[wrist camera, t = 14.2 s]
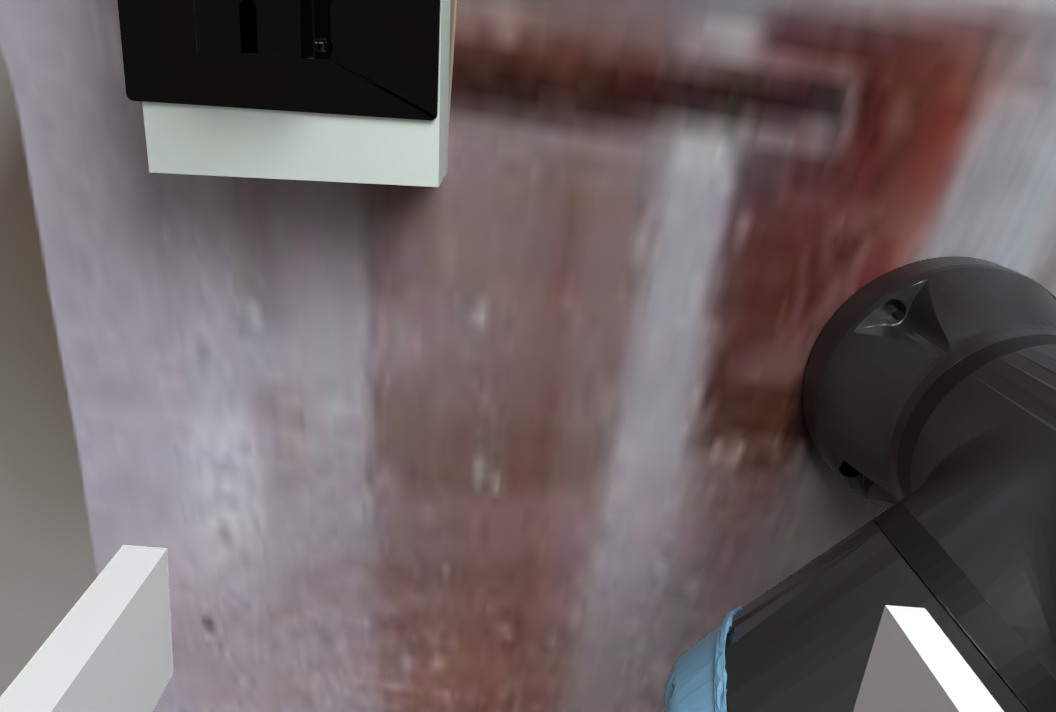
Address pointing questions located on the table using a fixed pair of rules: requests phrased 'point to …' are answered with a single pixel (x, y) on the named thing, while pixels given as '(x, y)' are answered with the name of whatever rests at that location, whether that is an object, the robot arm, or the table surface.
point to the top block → (302, 140)
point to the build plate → (285, 55)
